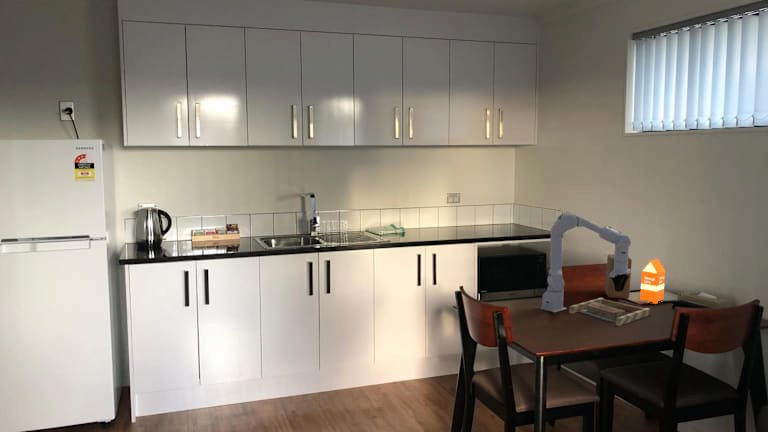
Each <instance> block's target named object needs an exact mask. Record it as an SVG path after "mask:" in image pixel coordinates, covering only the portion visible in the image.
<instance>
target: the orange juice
mask: <svg viewBox="0 0 768 432" xmlns="http://www.w3.org/2000/svg"><path fill="white" fill-rule="evenodd" d="M665 276H666V270H665V268H664V267H663V265H662V264H661V262H660V259H659V258H656V259H653V260H650V261H649V263H647V264H646V266H645V267H644V268H643V269H642V270H641V281H640V282H641V283H640V292H639V293H640V294H639V295H640V296H639V301H640V300H648V301H652V302H653V303H652V304H655V305H656V304H658V301H660V300H662V299H663V300H664V293H665V280H666V277H665Z"/></svg>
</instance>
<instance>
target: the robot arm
mask: <svg viewBox="0 0 768 432" xmlns="http://www.w3.org/2000/svg"><path fill="white" fill-rule="evenodd" d="M582 227H583V228H585V229H588V230H590V231H593V232H594V233H598V237H599V238H601V239H603V240H605V241H607V242H608V243H611V244H614V245H615V247H614V254H613V255H614V270H613V271H612V272H610V276H609V277H611V278H612V280H613V283H614V287H615V291H618V292H620V291H623V290H624V287H625V284H626V281H627V280H628V278H629V275H626V274H629V273H631V274H632V268H631V269H627V267H628V256H629V247H630V246H631V244H632V242H631V239H630V237H629V236H628V235H626V234H624V233H622V231H618V230H615V229H613V227H612V226H610V225H608V226H607V225H605V226H600V225H598V224H596V223H595V222H593V221H591V220H589V219H587V218H585V217H582V216H580V215H577V214H572V213H571V212H563V213H561V214H560V215H559V216H558V217H557V218H556V221H555V222H554V224H553V225H552V227H551V229H550V269H549V273H548V276H547V279H546V280H547V284H548V286H547V288H546V291H545V292H543V294H542V301H541V302H542V303H541V307H540V310H543V311H547V312H551V313H557V312H561V311H564V310H567V308H568V307H565V306H564V292H565V289H564V288H565V284H566V283H565V280H564V278H563V277H564V276H563V268H562V267H563V265H562V263H563V262H562V259H563V256H562V255H563V254H562V253H563V243H562V242H563V241H562V240H563V235H564V234H565V233H567V232H568V231H570V230H572V229H574V228H582Z"/></svg>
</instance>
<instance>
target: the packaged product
mask: <svg viewBox="0 0 768 432" xmlns="http://www.w3.org/2000/svg"><path fill="white" fill-rule="evenodd" d="M580 313H582V314H584V315H588V316H592V317H594V318H597V319H600V318H601V319H600V320H604V321H608V322H610V323H613V322H614V323H616V318H618V317H621V316H624V315H626V311H625V310H621V309H617V308H614V307H611V306H607V305H604V304H600V303H597V302H591V303H590V304H588V305H587V306H586V310H582V311H580Z"/></svg>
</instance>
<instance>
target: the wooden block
mask: <svg viewBox="0 0 768 432" xmlns="http://www.w3.org/2000/svg"><path fill="white" fill-rule="evenodd" d="M614 255H615V254H607V258H606V259H607V260H606V274H605V275H606V277H605V294H606V295H607V297H608V298H610V299H611V298H612V299H630V297H631V296H630V293H631V277H632V276H631V275H632V272H631V273H629V274H626V275H629V278H628V280H627V281H626V284H625V287H624V290H623V291H620V292H618V291H615V287H614V283H613V280H612V278H611V277H609V276H610V272H612V271H613V270H614ZM632 262H633V261H632V258H631V257H630V256H629V255H628V267H627V269H631V270H632Z"/></svg>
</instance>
